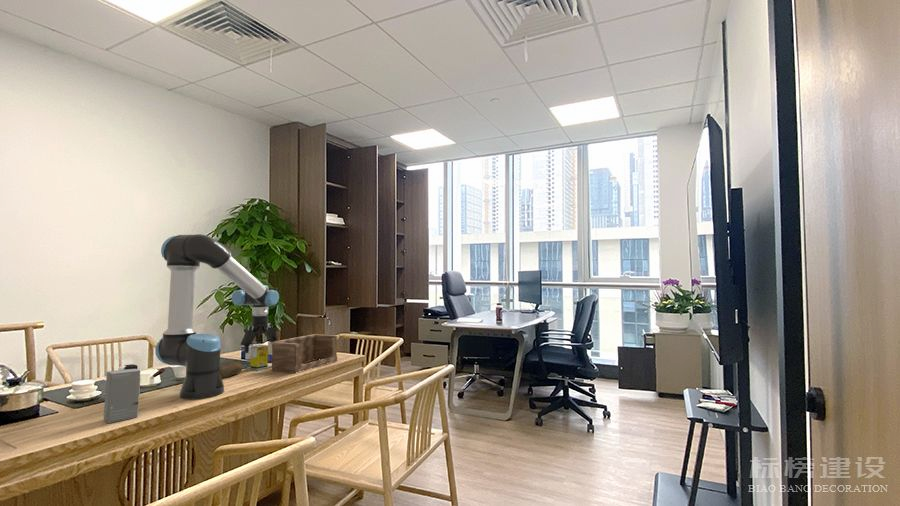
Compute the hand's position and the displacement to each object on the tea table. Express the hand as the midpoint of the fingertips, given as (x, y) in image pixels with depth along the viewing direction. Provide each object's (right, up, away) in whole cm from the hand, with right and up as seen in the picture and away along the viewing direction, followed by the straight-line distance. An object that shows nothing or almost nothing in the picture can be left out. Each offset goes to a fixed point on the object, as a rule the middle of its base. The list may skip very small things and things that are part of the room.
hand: (259, 356), depth 210 cm
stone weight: (-8, -5, -18) cm, 20 cm away
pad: (0, -6, 0) cm, 6 cm away
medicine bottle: (-30, -4, -48) cm, 57 cm away
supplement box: (0, -5, 0) cm, 5 cm away
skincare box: (-12, -2, -73) cm, 74 cm away
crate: (+22, -6, +6) cm, 23 cm away
